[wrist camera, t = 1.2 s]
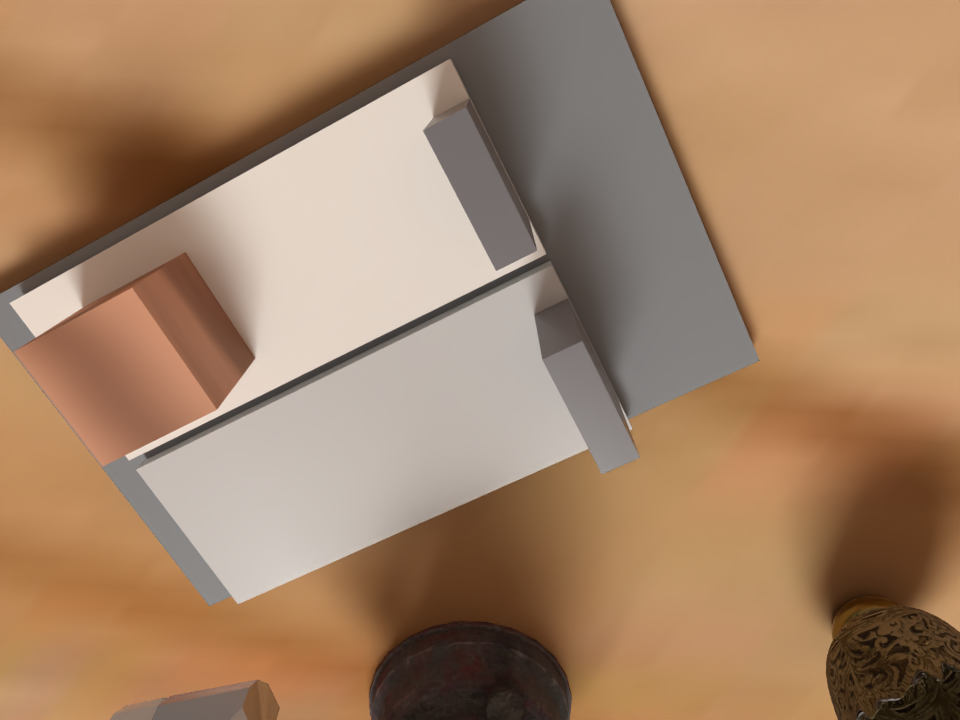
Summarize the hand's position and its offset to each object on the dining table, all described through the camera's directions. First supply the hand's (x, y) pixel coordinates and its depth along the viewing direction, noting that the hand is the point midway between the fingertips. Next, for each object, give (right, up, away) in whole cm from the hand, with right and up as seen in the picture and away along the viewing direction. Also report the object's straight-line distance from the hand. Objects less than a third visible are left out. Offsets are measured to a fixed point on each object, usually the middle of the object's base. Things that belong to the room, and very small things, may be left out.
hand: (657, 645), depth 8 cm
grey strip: (-6, -1, +27) cm, 27 cm away
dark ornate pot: (+17, -10, +32) cm, 37 cm away
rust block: (-14, +4, +24) cm, 28 cm away
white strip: (-10, +6, +24) cm, 27 cm away
